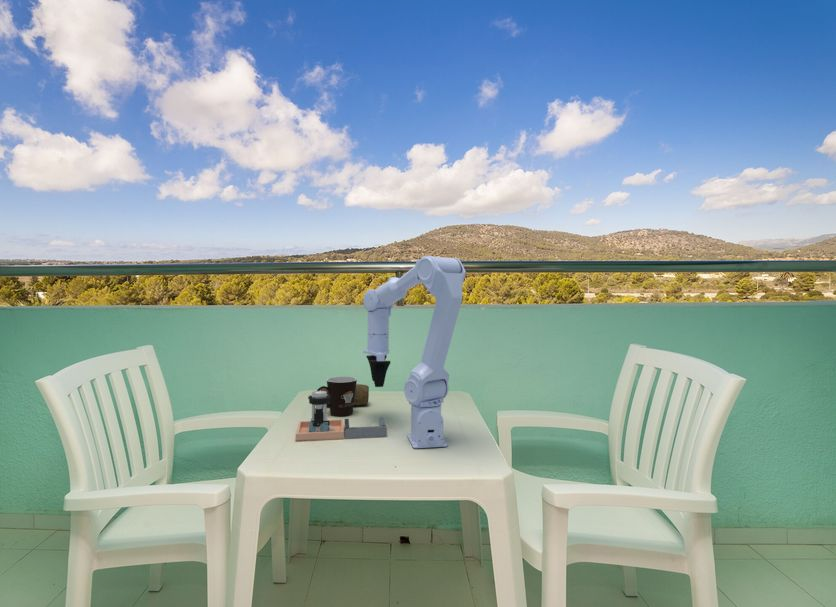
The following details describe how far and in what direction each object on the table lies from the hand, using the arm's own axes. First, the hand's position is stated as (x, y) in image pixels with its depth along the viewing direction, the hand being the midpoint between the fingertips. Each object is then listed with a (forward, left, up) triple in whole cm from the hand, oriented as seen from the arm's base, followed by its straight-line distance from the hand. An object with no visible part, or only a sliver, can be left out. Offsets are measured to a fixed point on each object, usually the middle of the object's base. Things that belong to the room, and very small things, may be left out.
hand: (377, 383), depth 122 cm
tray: (-8, +15, -10) cm, 20 cm away
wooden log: (+18, +8, -11) cm, 23 cm away
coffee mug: (+9, +11, -11) cm, 18 cm away
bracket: (-8, +4, -10) cm, 14 cm away
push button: (-8, +15, -10) cm, 20 cm away
